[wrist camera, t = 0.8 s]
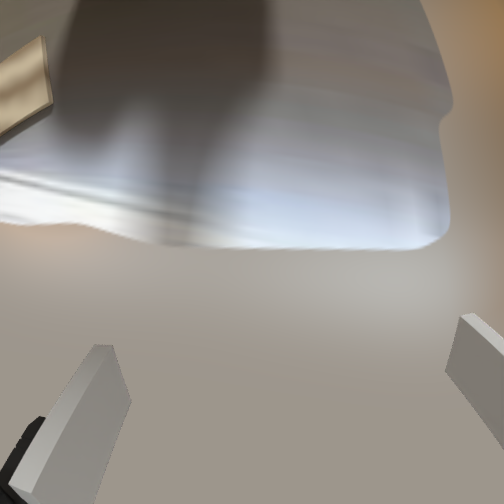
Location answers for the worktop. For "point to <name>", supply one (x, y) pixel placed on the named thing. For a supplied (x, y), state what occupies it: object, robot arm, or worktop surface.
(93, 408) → the robot arm
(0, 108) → the beige square napkin
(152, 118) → the worktop surface
